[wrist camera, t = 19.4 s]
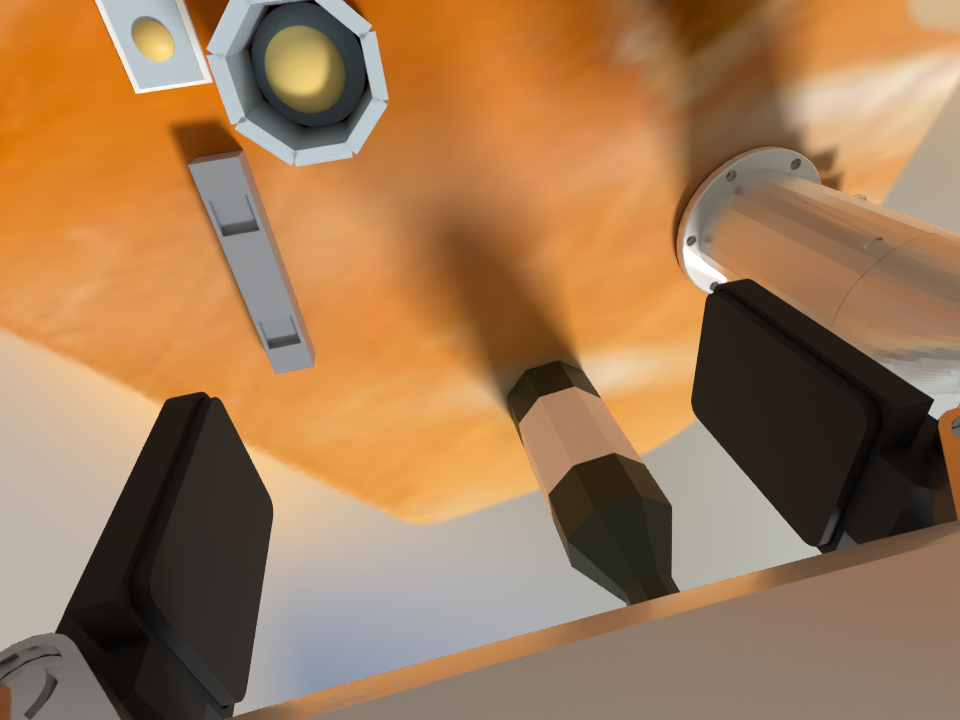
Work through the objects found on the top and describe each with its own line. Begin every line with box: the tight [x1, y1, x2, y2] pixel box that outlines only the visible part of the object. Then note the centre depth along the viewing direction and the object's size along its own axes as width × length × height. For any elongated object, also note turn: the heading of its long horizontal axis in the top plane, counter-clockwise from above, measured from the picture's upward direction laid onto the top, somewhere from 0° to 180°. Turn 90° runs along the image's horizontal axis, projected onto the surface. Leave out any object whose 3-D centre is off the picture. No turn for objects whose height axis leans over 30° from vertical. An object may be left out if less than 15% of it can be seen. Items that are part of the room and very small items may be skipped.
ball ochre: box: [265, 25, 346, 113], centre depth 30 cm, size 4×4×4 cm
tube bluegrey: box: [206, 0, 389, 167], centre depth 29 cm, size 8×8×7 cm
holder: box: [188, 150, 315, 375], centre depth 38 cm, size 3×16×2 cm, turn 7°
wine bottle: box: [507, 361, 680, 606], centre depth 38 cm, size 8×8×30 cm
